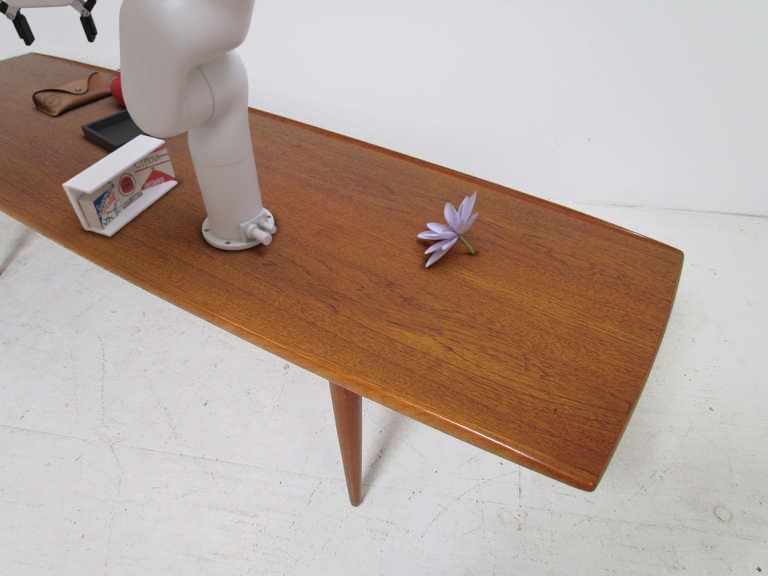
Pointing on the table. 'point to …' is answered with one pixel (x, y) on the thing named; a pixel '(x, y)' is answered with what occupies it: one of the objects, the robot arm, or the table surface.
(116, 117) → the tray
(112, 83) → the pomegranate
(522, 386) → the table surface
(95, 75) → the sunglasses case
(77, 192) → the cigarette display
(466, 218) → the water lily
